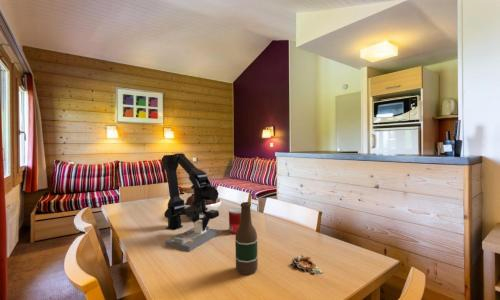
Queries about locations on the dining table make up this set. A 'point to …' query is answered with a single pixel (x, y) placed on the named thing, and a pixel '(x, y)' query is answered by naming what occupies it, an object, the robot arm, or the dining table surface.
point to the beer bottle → (246, 243)
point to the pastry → (306, 265)
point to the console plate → (191, 239)
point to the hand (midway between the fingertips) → (200, 229)
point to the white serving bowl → (209, 204)
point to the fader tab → (198, 227)
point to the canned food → (234, 220)
